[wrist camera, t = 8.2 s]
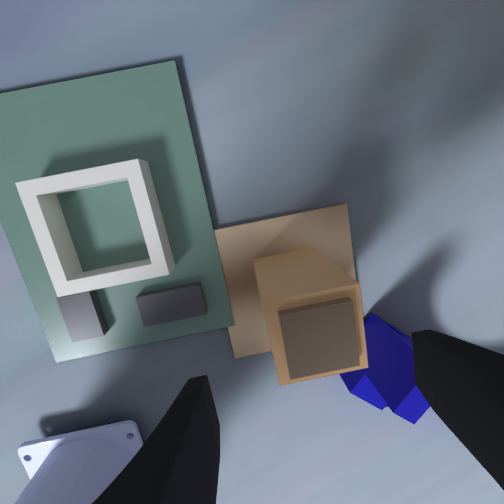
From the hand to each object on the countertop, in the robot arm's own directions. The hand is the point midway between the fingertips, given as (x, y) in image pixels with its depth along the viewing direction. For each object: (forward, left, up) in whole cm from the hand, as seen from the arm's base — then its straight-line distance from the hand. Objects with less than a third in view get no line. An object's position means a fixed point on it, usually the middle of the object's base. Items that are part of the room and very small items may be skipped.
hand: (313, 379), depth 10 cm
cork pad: (0, -1, -10) cm, 10 cm away
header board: (+6, +9, -10) cm, 15 cm away
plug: (0, -1, -9) cm, 9 cm away
